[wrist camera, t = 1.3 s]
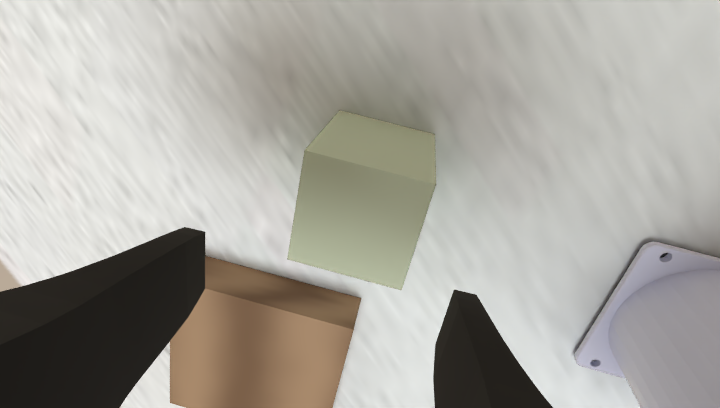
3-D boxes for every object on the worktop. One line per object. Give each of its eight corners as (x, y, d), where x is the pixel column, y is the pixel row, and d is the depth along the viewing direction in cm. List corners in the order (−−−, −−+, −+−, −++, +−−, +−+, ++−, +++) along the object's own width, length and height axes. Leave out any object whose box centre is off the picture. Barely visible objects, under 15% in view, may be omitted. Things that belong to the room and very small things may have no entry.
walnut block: (362, 293, 24) (353, 329, 21) (331, 405, 28) (321, 447, 26) (198, 248, 24) (169, 278, 22) (194, 366, 29) (170, 402, 26)
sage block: (434, 134, 19) (436, 184, 14) (408, 217, 21) (401, 290, 16) (339, 110, 19) (304, 150, 14) (323, 195, 21) (287, 259, 16)
